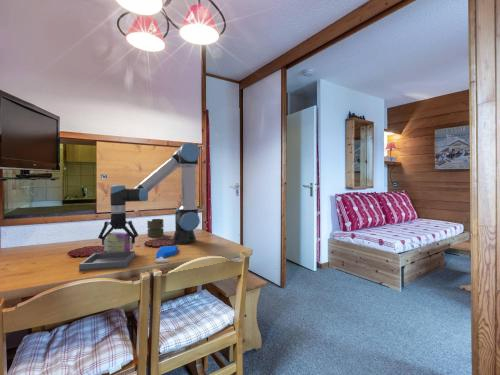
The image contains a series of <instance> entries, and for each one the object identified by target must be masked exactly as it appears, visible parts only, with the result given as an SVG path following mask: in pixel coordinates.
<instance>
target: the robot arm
mask: <svg viewBox="0 0 500 375" xmlns="http://www.w3.org/2000/svg"><path fill="white" fill-rule="evenodd" d="M200 154H201V151H200V148H199V146H198V145H196V144H195V143H193V142H186V143H183V144H182V145H180V146H179V147H178V149H177V150H175V152H174V153H172V155H171V156H170V157H169V158H170V159H168V160H167V161H165V162H164V163H163V164H162V165H161V166H159V167H158V168H157V169H155V170H154V171H153V172H152V173H151V174H150V175H148V176H147V177H146V178H145V179H144V180H142V181H141V182H140V183H138V184H137V185H136V186H135V187H134V188H133V187H132V188H126V185H124V184H123V185H121V184H120V185H119V184H115V185H111V186H110V191H109V192H110V194H109V197H110V200H109V201H110V221H107V220H106V221H104V224H103V228H102V229H101V230H100V232H99V235H98V239H100V240H101V245H102V246H103V252H107V235H108V234H109V233H112V231H113V230H123V231H125V233H128V234H129V235H130V251H133V250H134V244H135V243H136V238H137V237H138V236H139V233H138V232H137V230H136V227H135V226H134V225H133V221H132V219H131V220H127V219H126V218H127V214H126V211H127V209H126V205H127V204H126V203H129V202H134V203H135V202H147V201H148V200H149V192H151V191H152V190H153V189H155V187H157V186H158V185H159V184H160V183H161V182H163V181H164V180H166V179H167V178H168V177H169V175H171V174H172V173H173V172H175V171H176V170H178V169H179V168H181V206H180V207H179V208H178V207H177V208H176V209H175V211H174V215H175V216H174V218H175V219H174V220H175V221H174V222H175V224H174V226H175V231H174V235H173V238H172V243H173V242H174V243H173V244H175V245H188V244H193V243H196V242H197V237H196V234H195V231H194V230H196V229H197V228H198V226H199V225H200V222H201V220H200V216H199V207H198V206H196V199H197V198H196V195H197V193H196V182H197V181H196V178H197V177H196V174H197V173H196V172H197V171H196V168H197V167H198V166H199V158H200ZM127 225H128V227H127ZM108 226H110V228H109V229H108ZM129 228H130V229H131V230H130V229H129ZM107 229H108V231H107V232H106V230H107ZM105 232H106V233H105Z"/></svg>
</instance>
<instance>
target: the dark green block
mask: <svg viewBox="0 0 500 375" xmlns="http://www.w3.org/2000/svg"><path fill="white" fill-rule="evenodd" d="M146 222H147V238H150V239H151V238H153V239H154V238H160V237H161V238H163V237H164V233H165V232H164V219H163V218H153V219H151V220H147V221H146Z"/></svg>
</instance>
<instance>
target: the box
mask: <svg viewBox="0 0 500 375" xmlns="http://www.w3.org/2000/svg"><path fill="white" fill-rule="evenodd" d="M130 238H131V236H130V235H129V234H128V233H127V232H115V231H114V232H110V233H109V234H108V235H107V237H106V239H107V251H106V253H108V252H126V251H131V250H130Z"/></svg>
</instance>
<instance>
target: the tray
mask: <svg viewBox="0 0 500 375" xmlns="http://www.w3.org/2000/svg"><path fill="white" fill-rule="evenodd" d="M135 256H136V251H135V250H130V251H126V252H108V253H107V252H94V253H93V254H91V255H90V256H88V257H87V258H86V259H84V260H83V261H81V262H80V263H78V270H79V271H80V272H81V271H92V270H93V271H94V270H111V269H123V268H125V269H126V268H127V267H128V266H129V264H131V262H132V261H133V259H134V258H135Z"/></svg>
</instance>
